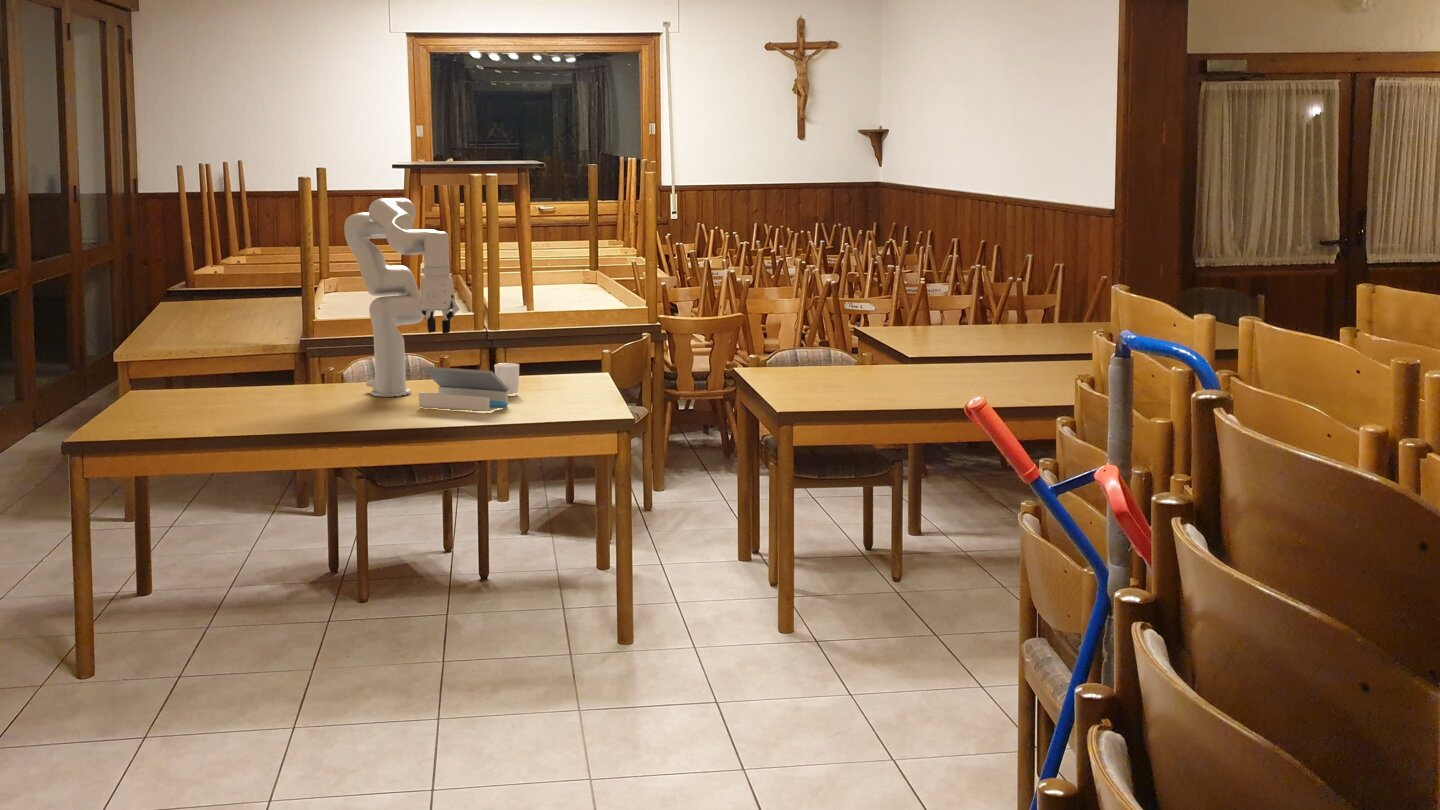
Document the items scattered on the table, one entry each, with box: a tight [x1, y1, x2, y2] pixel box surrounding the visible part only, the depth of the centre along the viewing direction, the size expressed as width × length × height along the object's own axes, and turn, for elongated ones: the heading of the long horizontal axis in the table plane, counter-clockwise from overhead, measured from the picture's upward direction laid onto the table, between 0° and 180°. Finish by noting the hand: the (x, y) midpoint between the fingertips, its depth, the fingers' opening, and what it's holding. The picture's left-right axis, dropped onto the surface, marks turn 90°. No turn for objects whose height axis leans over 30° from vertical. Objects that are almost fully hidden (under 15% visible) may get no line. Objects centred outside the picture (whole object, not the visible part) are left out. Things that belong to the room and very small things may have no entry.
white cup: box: [493, 362, 520, 394], centre depth 458 cm, size 8×8×10 cm
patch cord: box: [489, 400, 507, 409], centre depth 436 cm, size 29×2×2 cm, turn 69°
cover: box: [421, 365, 509, 391], centre depth 436 cm, size 24×12×1 cm
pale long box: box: [418, 386, 509, 411], centre depth 436 cm, size 24×12×5 cm, turn 69°
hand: (439, 331), depth 434 cm, fingers open, 4 cm apart
